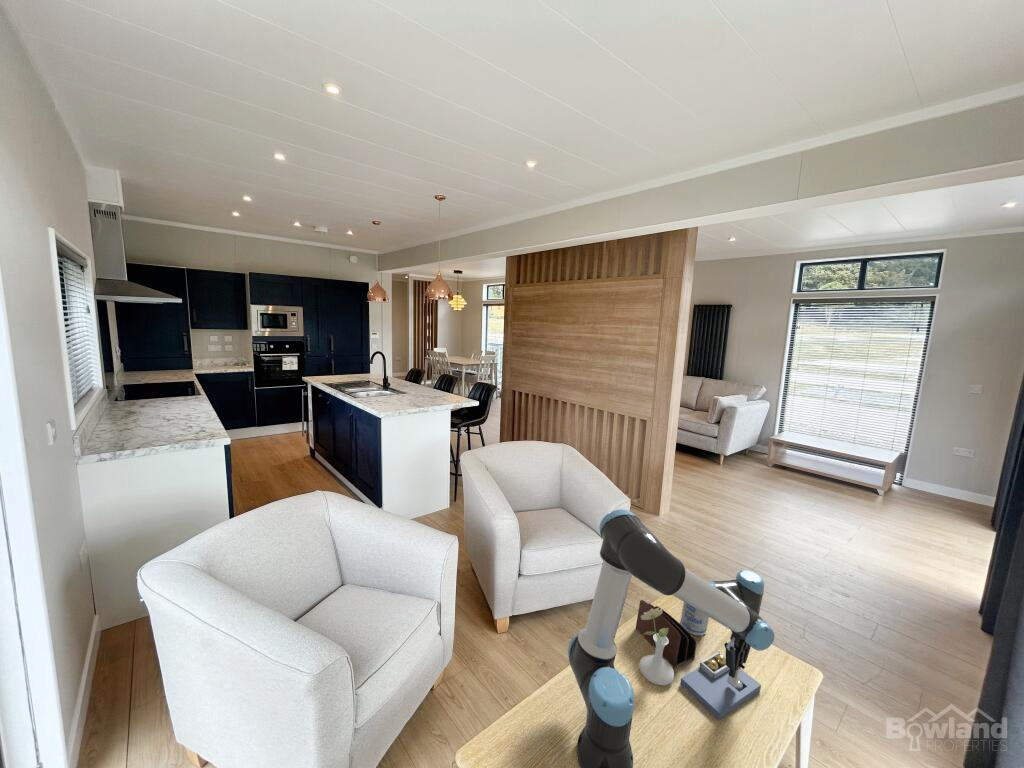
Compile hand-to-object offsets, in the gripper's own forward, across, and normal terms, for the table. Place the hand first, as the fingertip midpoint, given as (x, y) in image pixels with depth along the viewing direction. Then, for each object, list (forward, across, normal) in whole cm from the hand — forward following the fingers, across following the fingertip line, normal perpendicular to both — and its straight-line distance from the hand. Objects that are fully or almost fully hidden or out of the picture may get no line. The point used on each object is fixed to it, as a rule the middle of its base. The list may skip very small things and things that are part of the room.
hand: (732, 683), depth 137 cm
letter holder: (+4, -3, +25) cm, 25 cm away
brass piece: (0, 0, +7) cm, 7 cm away
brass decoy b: (0, +5, +7) cm, 9 cm away
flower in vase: (+4, -17, +17) cm, 24 cm away
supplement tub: (+4, +14, +25) cm, 29 cm away
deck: (+4, -1, +3) cm, 5 cm away
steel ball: (+3, +4, 0) cm, 4 cm away
